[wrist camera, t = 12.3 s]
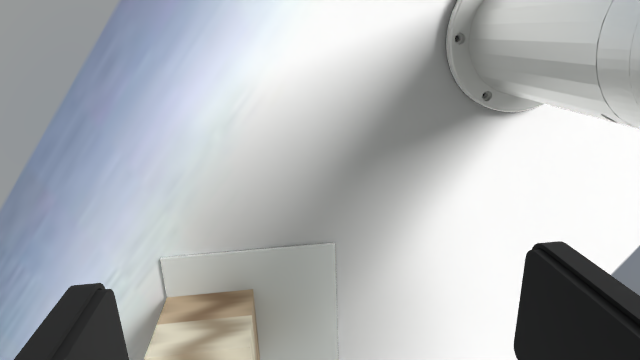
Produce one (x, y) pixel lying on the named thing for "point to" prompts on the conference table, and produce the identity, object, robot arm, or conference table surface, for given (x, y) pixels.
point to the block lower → (211, 308)
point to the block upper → (204, 340)
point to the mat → (271, 294)
